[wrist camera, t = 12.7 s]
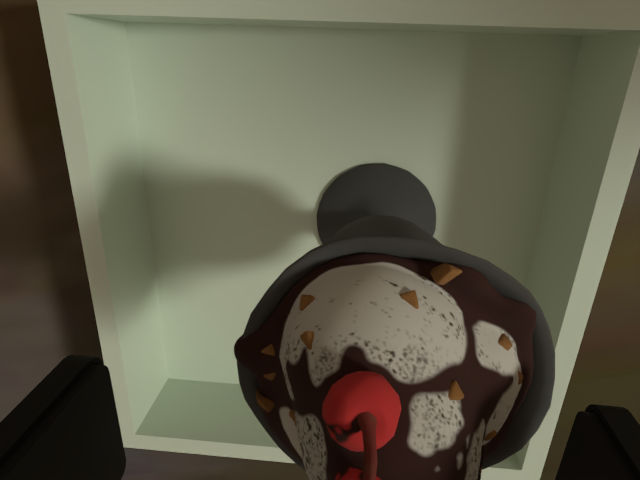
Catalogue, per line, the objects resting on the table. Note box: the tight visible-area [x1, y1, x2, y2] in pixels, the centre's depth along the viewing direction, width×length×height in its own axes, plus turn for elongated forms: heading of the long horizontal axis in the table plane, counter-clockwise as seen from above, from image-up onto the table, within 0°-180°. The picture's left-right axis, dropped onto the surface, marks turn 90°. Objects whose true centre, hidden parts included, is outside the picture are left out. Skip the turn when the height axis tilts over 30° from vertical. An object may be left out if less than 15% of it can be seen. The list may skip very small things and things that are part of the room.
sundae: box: [234, 163, 555, 480], centre depth 12 cm, size 7×7×15 cm
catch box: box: [37, 0, 640, 480], centre depth 18 cm, size 18×18×4 cm
